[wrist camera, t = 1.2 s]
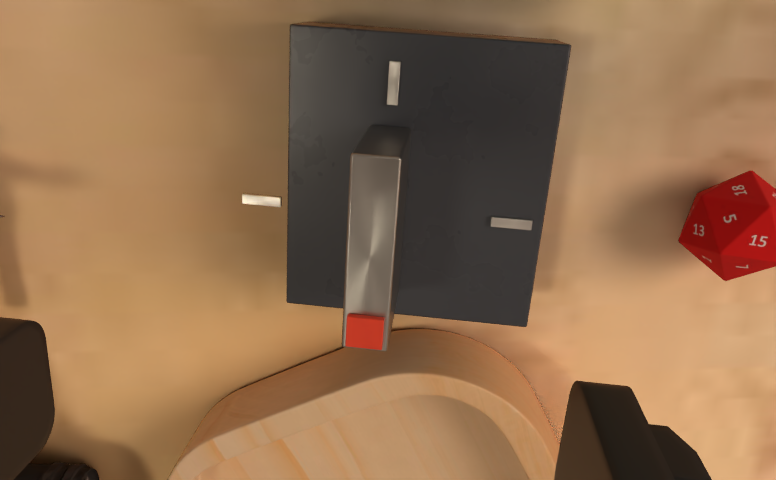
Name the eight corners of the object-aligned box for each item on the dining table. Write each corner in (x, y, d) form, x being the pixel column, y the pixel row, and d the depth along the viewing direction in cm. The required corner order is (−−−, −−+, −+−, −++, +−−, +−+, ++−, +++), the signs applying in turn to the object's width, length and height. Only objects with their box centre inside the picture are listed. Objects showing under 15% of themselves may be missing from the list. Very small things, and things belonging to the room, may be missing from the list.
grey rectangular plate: (370, 124, 22) (348, 155, 17) (411, 127, 21) (401, 159, 17) (361, 287, 24) (339, 352, 19) (398, 290, 24) (386, 356, 19)
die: (643, 213, 24) (725, 287, 21) (716, 140, 23) (811, 208, 20) (681, 239, 26) (758, 309, 23) (748, 175, 25) (837, 240, 22)
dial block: (265, 18, 24) (239, 20, 21) (557, 39, 23) (572, 44, 20) (265, 292, 28) (243, 326, 25) (515, 317, 27) (522, 356, 24)
